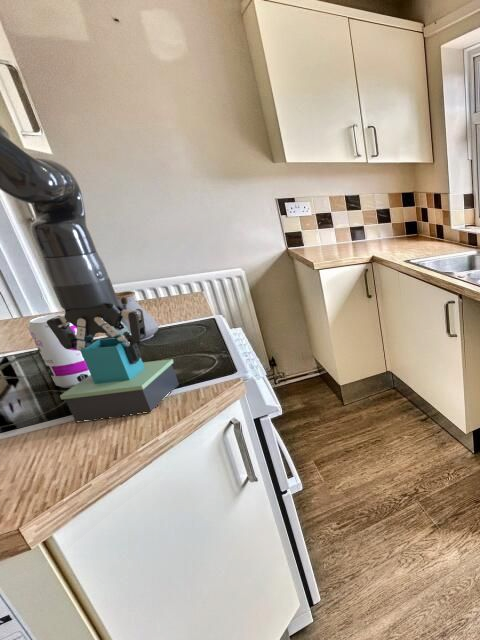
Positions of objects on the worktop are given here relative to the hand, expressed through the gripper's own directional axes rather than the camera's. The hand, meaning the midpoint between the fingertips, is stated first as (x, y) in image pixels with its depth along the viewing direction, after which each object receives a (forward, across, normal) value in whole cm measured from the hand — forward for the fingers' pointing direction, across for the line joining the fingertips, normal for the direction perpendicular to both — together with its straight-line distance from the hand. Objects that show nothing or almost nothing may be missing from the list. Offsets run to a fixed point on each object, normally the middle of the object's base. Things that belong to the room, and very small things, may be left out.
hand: (115, 364), depth 82 cm
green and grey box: (+8, 0, 0) cm, 8 cm away
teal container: (+2, 0, 0) cm, 2 cm away
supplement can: (+9, +16, -15) cm, 24 cm away
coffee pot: (+9, +16, -39) cm, 43 cm away
